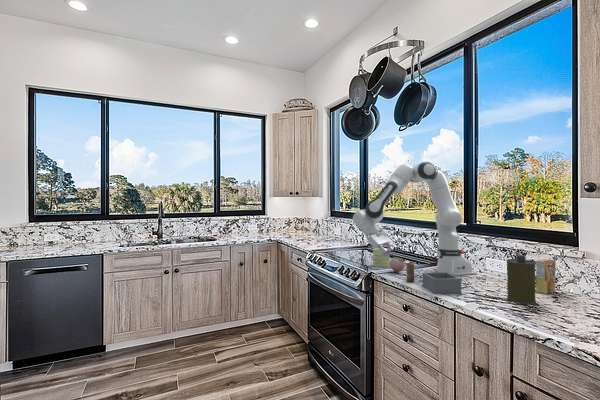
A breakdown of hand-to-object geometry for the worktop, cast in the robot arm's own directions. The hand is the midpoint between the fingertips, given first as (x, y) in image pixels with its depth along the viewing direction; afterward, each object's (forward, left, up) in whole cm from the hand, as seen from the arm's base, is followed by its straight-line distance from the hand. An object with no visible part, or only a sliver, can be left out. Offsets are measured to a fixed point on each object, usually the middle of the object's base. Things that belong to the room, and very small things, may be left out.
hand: (389, 251), depth 176 cm
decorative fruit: (-9, -13, -16) cm, 23 cm away
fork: (-29, -32, -16) cm, 46 cm away
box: (-5, -32, -16) cm, 36 cm away
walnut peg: (-9, +8, -16) cm, 20 cm away
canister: (-45, +42, -16) cm, 64 cm away
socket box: (-18, +24, -16) cm, 34 cm away
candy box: (-66, +31, -16) cm, 75 cm away
